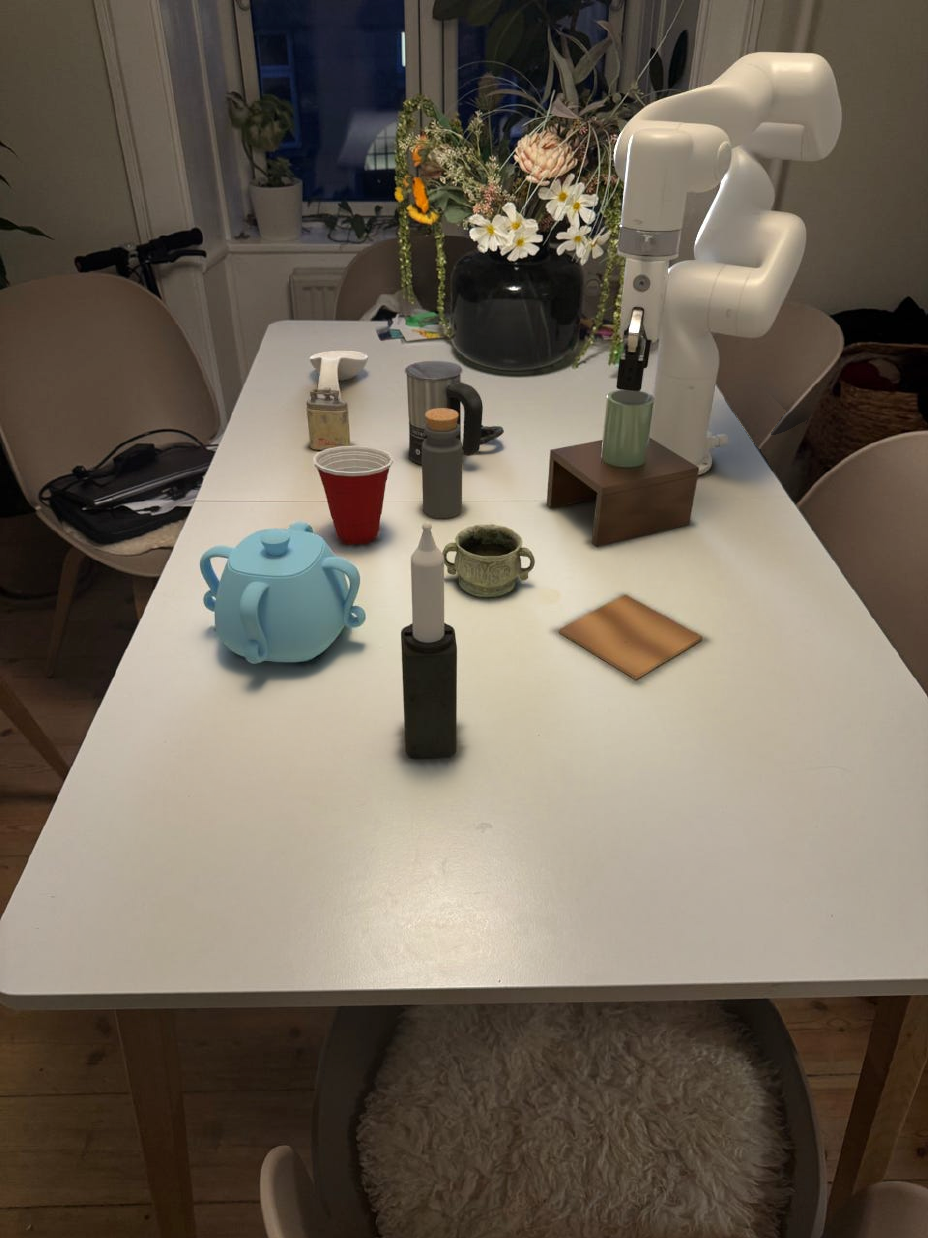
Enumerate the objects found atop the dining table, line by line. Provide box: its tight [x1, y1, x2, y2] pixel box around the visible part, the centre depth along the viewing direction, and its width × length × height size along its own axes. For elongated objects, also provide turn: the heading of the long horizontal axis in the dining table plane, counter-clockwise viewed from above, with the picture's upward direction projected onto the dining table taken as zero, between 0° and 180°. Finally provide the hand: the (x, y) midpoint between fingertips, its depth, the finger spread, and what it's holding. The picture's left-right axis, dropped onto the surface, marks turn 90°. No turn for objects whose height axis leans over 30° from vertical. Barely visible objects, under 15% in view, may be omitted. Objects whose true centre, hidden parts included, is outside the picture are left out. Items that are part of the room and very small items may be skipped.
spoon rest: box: [309, 350, 369, 399], centre depth 173 cm, size 24×12×7 cm, turn 1°
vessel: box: [441, 524, 536, 598], centre depth 113 cm, size 12×9×6 cm
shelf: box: [546, 437, 699, 547], centre depth 128 cm, size 16×14×9 cm
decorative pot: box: [199, 521, 367, 665], centre depth 100 cm, size 16×16×14 cm
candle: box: [400, 521, 458, 760], centre depth 82 cm, size 5×5×25 cm
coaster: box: [558, 594, 703, 681], centre depth 105 cm, size 12×12×1 cm
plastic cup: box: [312, 445, 394, 546], centre depth 121 cm, size 11×11×12 cm
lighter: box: [306, 387, 352, 451], centre depth 147 cm, size 7×4×10 cm, turn 82°
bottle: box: [421, 408, 463, 520], centre depth 127 cm, size 6×6×15 cm
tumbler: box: [601, 389, 654, 468], centre depth 123 cm, size 6×6×9 cm
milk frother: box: [404, 360, 505, 465], centre depth 145 cm, size 14×16×15 cm
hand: (632, 377), depth 119 cm, fingers open, 9 cm apart
